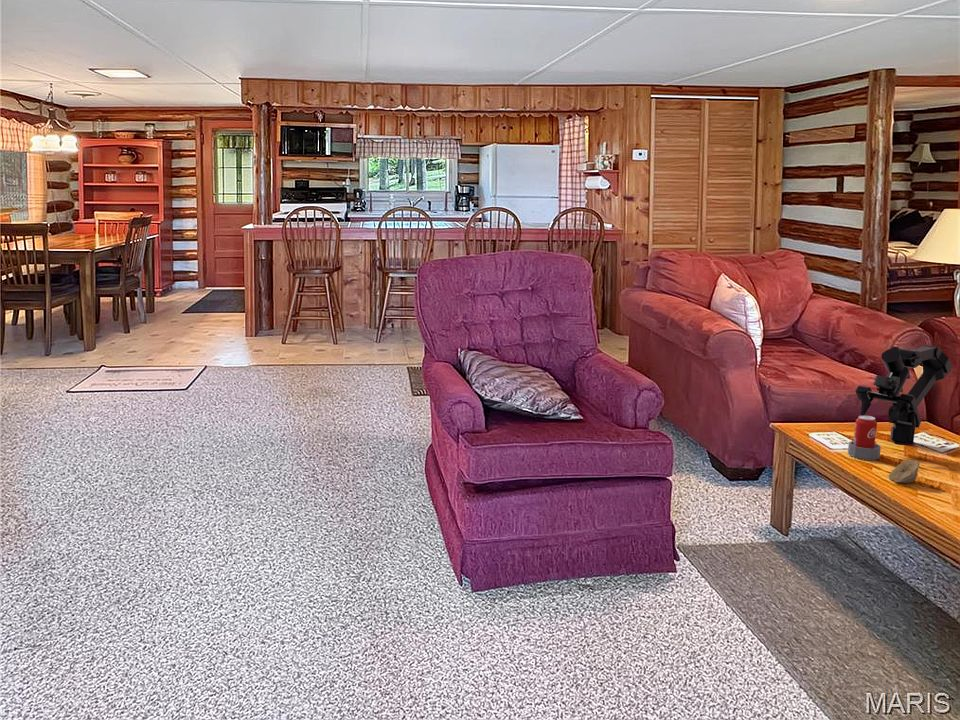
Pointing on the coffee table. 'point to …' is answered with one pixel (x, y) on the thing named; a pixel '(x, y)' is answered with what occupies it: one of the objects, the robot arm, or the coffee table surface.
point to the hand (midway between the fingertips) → (875, 418)
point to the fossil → (905, 472)
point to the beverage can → (865, 432)
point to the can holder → (864, 452)
